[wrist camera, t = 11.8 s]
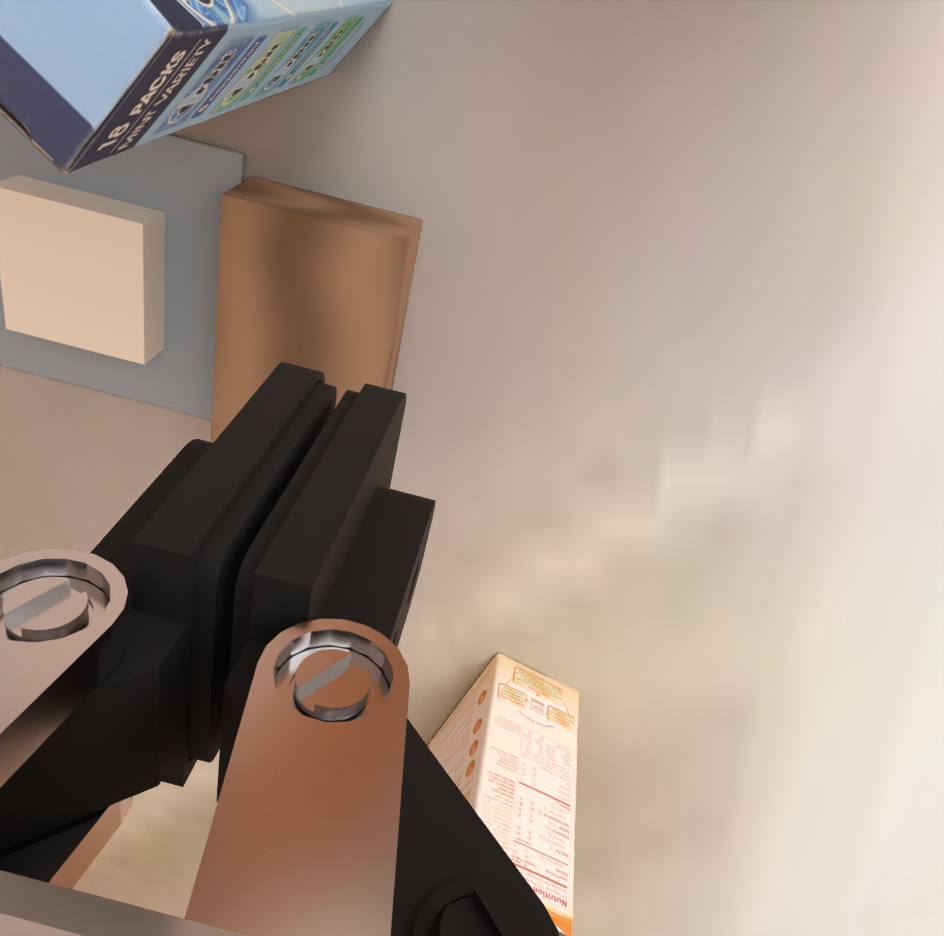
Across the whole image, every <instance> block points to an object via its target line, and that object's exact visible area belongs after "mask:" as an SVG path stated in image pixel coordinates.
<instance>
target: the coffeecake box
mask: <svg viewBox="0 0 944 936" xmlns="http://www.w3.org/2000/svg"><path fill="white" fill-rule="evenodd" d="M579 694H580V692H579V691H578V690H576V689H574V688H572V687H570V686H568V685H566V684H563V683H561V682H559V681H557V680H555V679H553V678H550V677H547V676H545V675H542V674H540V673H538V672H536V671H534V670H532V669H531V668H529V667H527V666H525V665H523V664H521V663H519V662H517V661H515V660H513V659H511V658H509V657H507V656H505V655H502V654H500V653H498V654H497V655H496V656H495V657H494V658H493V660H492V661H491V662H490V664H489V665H488V666H487V667H486V669H485V670H484V671H483V673H482V674H481V675H480V677H479V678H478V679H477V681H476V682H475V683H474V685H473V686H472V687H471V688H470V690H469V691H468V693H467V694H466V695H465V697H464V698H463V699H462V701H461V702H460V703H459V705H458V706H457V707H456V709H455V710H454V711H453V713H452V714H451V715H450V717H449V718H448V719H447V721H446V722H445V723H444V725H443V726H442V727H441V729H440V730H439V731H438V733H437V734H436V735H435V737H434V738H433V739H432V741H431V742H430V744H429V745H428V748H429V749H430V750H431V752H432V753H433V754H434V756H435V757H436V758H437V760H438V761H439V763H440V764H441V765H442V767H443V768H444V769H445V771H446V772H447V773H448V775H449V776H450V777H451V779H452V780H453V782H454V783H455V784H456V786H457V787H458V788H459V790H460V791H461V792H462V794H463V795H464V796H465V798H466V799H467V801H468V802H469V803H470V805H471V806H472V807H473V809H474V810H475V811H476V813H477V814H478V816H479V817H480V818H481V820H482V821H483V822H484V824H485V825H486V826H487V828H488V829H489V830H490V832H491V833H492V835H493V836H494V837H495V839H496V840H497V841H498V843H499V844H500V845H501V847H502V848H503V850H504V851H505V852H506V854H507V855H508V856H509V858H510V859H511V860H512V862H513V863H514V864H515V866H516V867H517V869H518V870H519V871H520V873H521V874H522V875H523V877H524V878H525V879H526V881H527V882H528V883H529V885H530V886H531V888H532V889H533V890H534V892H535V893H536V894H537V896H538V897H539V898H540V900H541V901H542V903H543V904H544V906H545V907H546V909H547V911H548V913H549V915H550V916H551V918H552V920H553V922H554V924H555V925H556V927H557V929H558V931H559V932H561V933H563V934H565V935H567V936H572V918H573V880H574V850H575V814H576V780H577V744H578V716H579Z"/></svg>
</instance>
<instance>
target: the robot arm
mask: <svg viewBox="0 0 944 936" xmlns="http://www.w3.org/2000/svg"><path fill="white" fill-rule="evenodd" d="M336 397H337V388H336V386H332V385H328V384H325V375H324V373H323V372H321V371H317V370H313V369H309V368H305V367H301V366H297V365H293V364H290V363H286V362H281V363H280V364H278V366H277V367H276V368H275V369H274V370H273V372H272V373H271V374H270V375H269V376H268V378H267V379H266V380H265V381H264V382H263V384H262V385H261V386H260V387H259V388H258V390H257V391H256V392H255V393H254V394H253V396H252V397H251V398H250V399H249V400H248V402H247V403H246V404H245V405H244V406H243V408H242V409H241V410H240V411H239V412H238V414H237V415H236V416H235V417H234V418H233V420H232V421H231V422H230V423H229V424H228V426H227V427H226V428H225V429H224V430H223V432H222V433H221V434H220V435H219V436H218V438H217V439H216V440H215V441H214V442H213V443H211V442H207V441H204V440H200V439H195V440H192V441H190V442H189V443H188V444H187V445H186V446H185V447H184V448H183V449H182V450H181V451H180V452H179V453H178V455H177V456H176V457H175V458H174V459H173V460H172V461H171V462H170V464H169V465H168V466H167V467H166V468H165V469H164V470H163V472H162V473H161V474H160V475H159V476H158V477H157V478H156V479H155V481H154V482H153V483H152V484H151V485H150V486H149V487H148V488H147V490H146V491H145V492H144V493H143V494H142V495H141V496H140V497H139V499H138V500H137V501H136V502H135V503H134V504H133V505H132V507H131V508H130V509H129V510H128V511H127V512H126V513H125V514H124V516H123V517H122V518H121V519H120V520H119V521H118V522H117V523H116V525H115V526H114V527H113V528H112V529H111V530H110V531H109V533H108V534H107V535H106V536H105V537H104V538H103V539H102V540H101V542H100V543H99V544H98V545H97V546H96V547H95V548H94V549H93V551H92V552H91V553H87V552H83V551H79V550H74V549H44V550H37V551H29V552H24V553H21V554H18V555H15V556H12V557H9V558H6V559H3V560H1V561H0V936H567V935H565V934H563V933H561V932H559V931H558V929H557V927H556V925H555V924H554V922H553V920H552V918H551V916H550V915H549V913H548V911H547V909H546V907H545V906H544V904H543V903H542V901H541V900H540V898H539V897H538V896H537V894H536V893H535V892H534V890H533V889H532V888H531V886H530V885H529V883H528V882H527V881H526V879H525V878H524V877H523V875H522V874H521V873H520V871H519V870H518V869H517V867H516V866H515V864H514V863H513V862H512V860H511V859H510V858H509V856H508V855H507V854H506V852H505V851H504V850H503V848H502V847H501V845H500V844H499V843H498V841H497V840H496V839H495V837H494V836H493V835H492V833H491V832H490V830H489V829H488V828H487V826H486V825H485V824H484V822H483V821H482V820H481V818H480V817H479V816H478V814H477V813H476V811H475V810H474V809H473V807H472V806H471V805H470V803H469V802H468V801H467V799H466V798H465V796H464V795H463V794H462V792H461V791H460V790H459V788H458V787H457V786H456V784H455V783H454V782H453V780H452V779H451V777H450V776H449V775H448V773H447V772H446V771H445V769H444V768H443V767H442V765H441V764H440V763H439V761H438V760H437V758H436V757H435V756H434V754H433V753H432V752H431V750H430V749H429V748H428V746H427V745H426V743H425V742H424V741H423V739H422V738H421V737H420V735H419V734H418V733H417V731H416V730H415V729H414V727H413V726H412V724H411V723H410V722H409V720H408V719H407V710H408V697H409V675H408V667H407V664H406V662H405V660H404V659H403V657H402V655H401V653H400V651H399V649H398V648H397V646H398V643H399V640H400V637H401V633H402V630H403V627H404V624H405V620H406V617H407V614H408V611H409V607H410V604H411V600H412V597H413V593H414V590H415V586H416V583H417V579H418V575H419V571H420V568H421V564H422V560H423V556H424V552H425V547H426V543H427V539H428V535H429V530H430V526H431V522H432V517H433V513H434V508H435V500H431V499H427V498H424V497H420V496H416V495H412V494H408V493H404V492H400V491H397V490H393V489H389V488H390V483H391V478H392V472H393V467H394V462H395V457H396V452H397V446H398V441H399V436H400V431H401V425H402V420H403V415H404V410H405V404H406V393H402V392H398V391H394V390H390V389H386V388H382V387H379V386H375V385H371V384H367V383H365V385H364V386H363V387H362V389H361V391H360V393H359V392H355V391H351V390H347V391H346V392H345V393H344V395H343V397H342V398H341V400H340V402H339V403H338V405H337V406H336V408H335V405H336ZM219 749H220V757H219V772H218V788H217V802H218V803H217V807H216V810H215V814H214V817H213V821H212V824H211V828H210V831H209V835H208V838H207V842H206V845H205V849H204V852H203V856H202V859H201V863H200V866H199V870H198V873H197V877H196V880H195V883H194V887H193V890H192V894H191V897H190V901H189V904H188V908H187V911H186V915H185V918H184V919H182V918H178V917H175V916H171V915H167V914H164V913H160V912H156V911H152V910H149V909H145V908H141V907H137V906H134V905H130V904H126V903H123V902H119V901H115V900H111V899H107V898H104V897H100V896H96V895H92V894H88V893H85V892H81V891H77V890H73V889H72V888H73V887H74V885H75V884H76V883H77V881H78V880H79V879H80V878H81V876H82V875H83V874H84V872H85V871H86V870H87V868H88V867H89V866H90V864H91V863H92V862H93V861H94V859H95V858H96V857H97V855H98V854H99V853H100V851H101V850H102V849H103V847H104V846H105V845H106V843H107V842H108V841H109V840H110V838H111V837H112V836H113V834H114V833H115V832H116V830H117V829H118V828H119V826H120V825H121V824H122V822H123V820H124V818H125V816H126V815H127V813H128V811H129V809H130V807H131V802H132V797H133V796H134V795H137V794H139V793H142V792H144V791H146V790H149V789H151V788H154V787H156V786H158V785H159V784H160V782H161V781H162V782H166V783H170V784H174V785H178V786H182V787H183V786H184V784H185V782H186V780H187V778H188V777H189V775H190V773H191V771H192V769H193V767H194V765H195V763H196V761H197V760H201V761H205V762H209V763H210V762H212V761H213V759H214V758H215V756H216V755H217V753H218V751H219Z"/></svg>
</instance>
